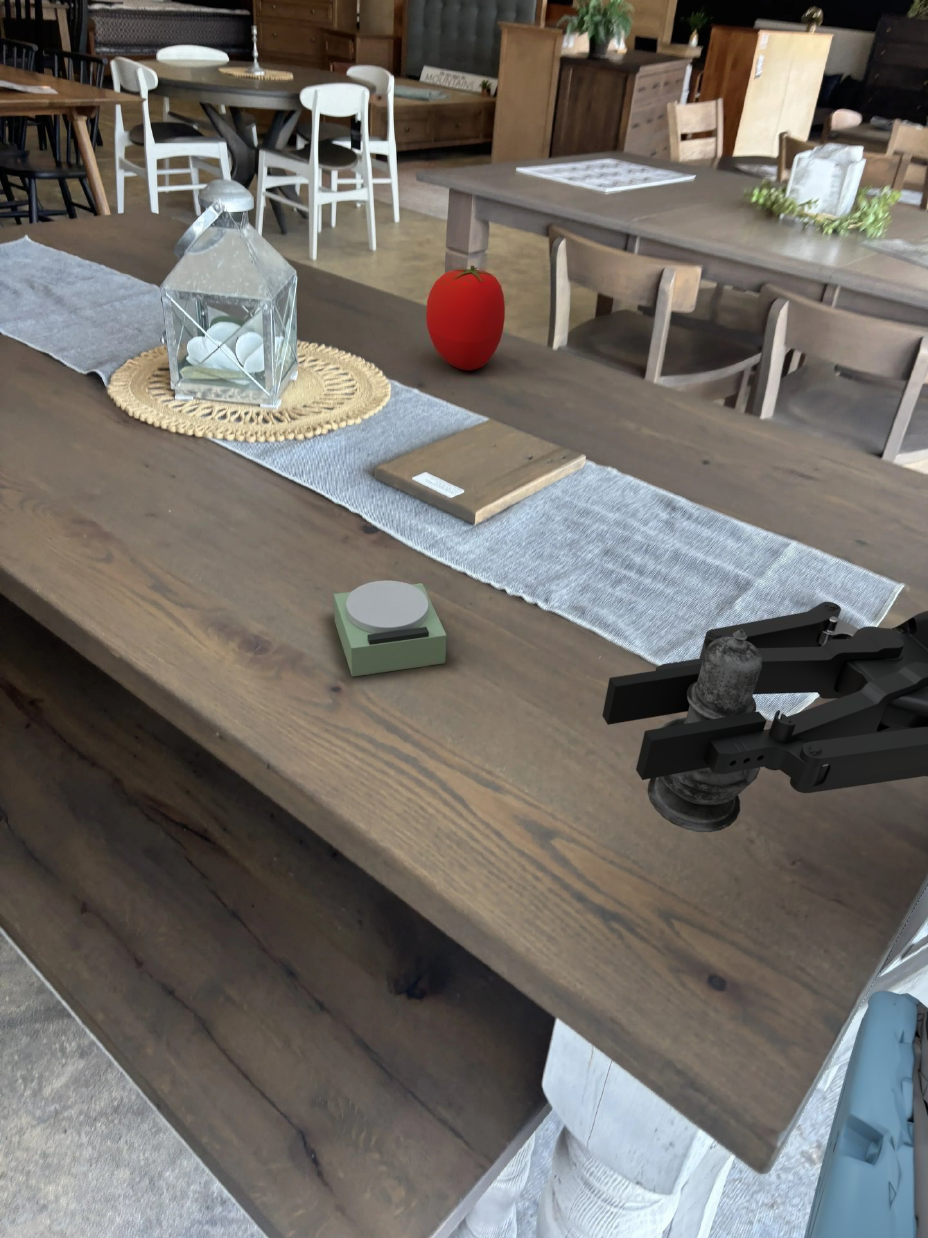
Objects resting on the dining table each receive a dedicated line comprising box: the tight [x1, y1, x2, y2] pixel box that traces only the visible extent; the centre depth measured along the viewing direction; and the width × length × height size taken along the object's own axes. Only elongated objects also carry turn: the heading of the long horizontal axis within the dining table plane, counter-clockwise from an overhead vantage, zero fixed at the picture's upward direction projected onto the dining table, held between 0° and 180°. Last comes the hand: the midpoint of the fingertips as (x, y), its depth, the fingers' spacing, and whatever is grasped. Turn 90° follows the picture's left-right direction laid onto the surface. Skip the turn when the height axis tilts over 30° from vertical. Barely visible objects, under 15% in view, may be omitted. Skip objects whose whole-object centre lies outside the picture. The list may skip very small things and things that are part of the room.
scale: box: [333, 580, 448, 677], centre depth 78 cm, size 8×8×4 cm
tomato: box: [425, 264, 506, 371], centre depth 131 cm, size 13×11×14 cm
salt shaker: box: [647, 629, 762, 833], centre depth 49 cm, size 6×6×12 cm
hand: (626, 727), depth 47 cm, fingers closed on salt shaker, 4 cm apart
